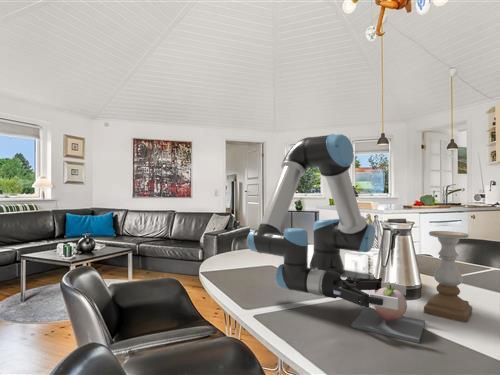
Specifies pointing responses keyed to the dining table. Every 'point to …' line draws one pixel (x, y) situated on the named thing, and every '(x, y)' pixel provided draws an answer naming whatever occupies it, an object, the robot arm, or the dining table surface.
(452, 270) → the candle holder
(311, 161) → the robot arm
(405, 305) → the decorative fruit
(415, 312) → the dining table surface
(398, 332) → the mat
